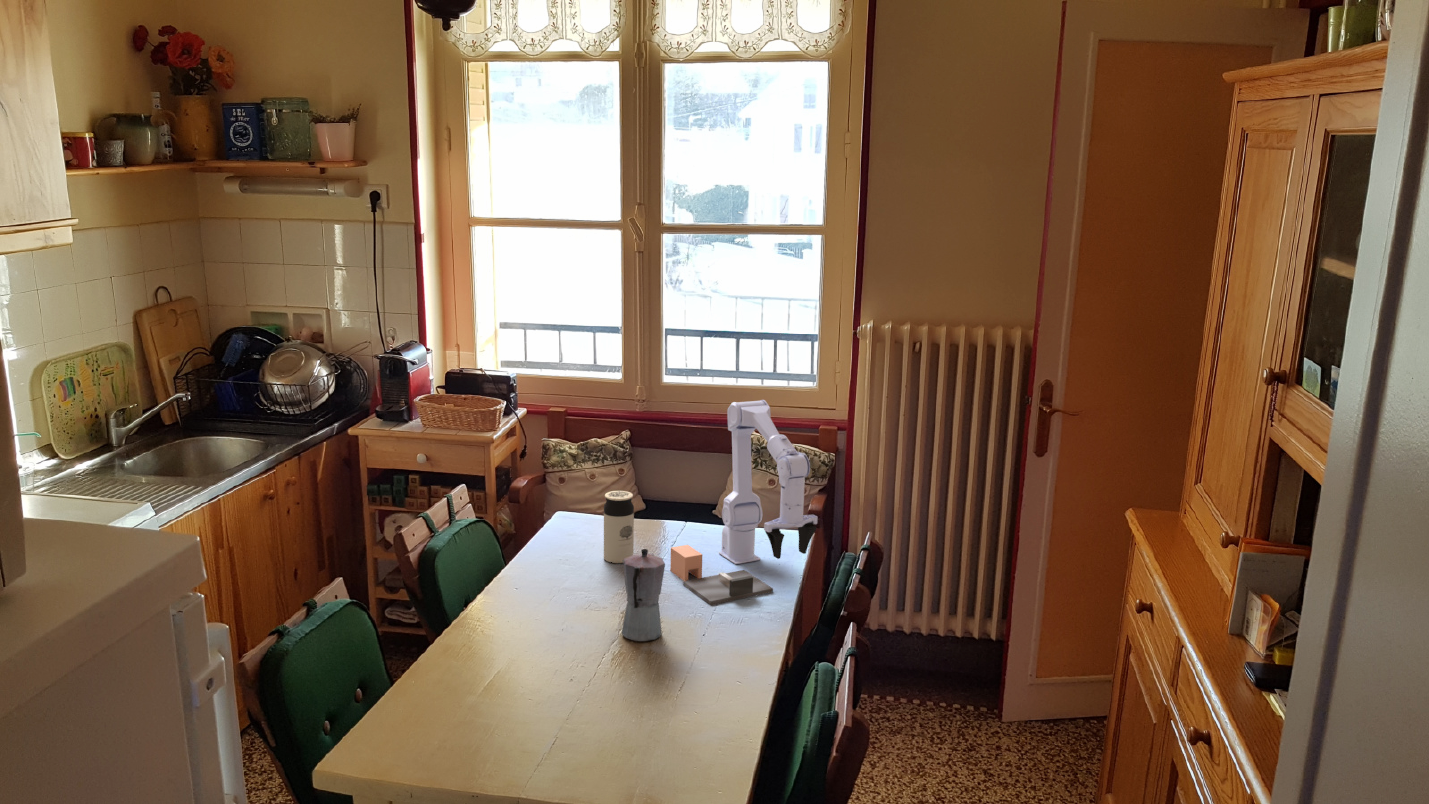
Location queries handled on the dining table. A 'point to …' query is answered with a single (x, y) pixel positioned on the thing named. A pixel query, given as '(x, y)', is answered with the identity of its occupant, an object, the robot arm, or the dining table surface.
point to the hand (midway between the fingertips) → (789, 554)
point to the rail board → (727, 587)
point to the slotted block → (686, 562)
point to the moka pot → (643, 596)
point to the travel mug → (618, 526)
